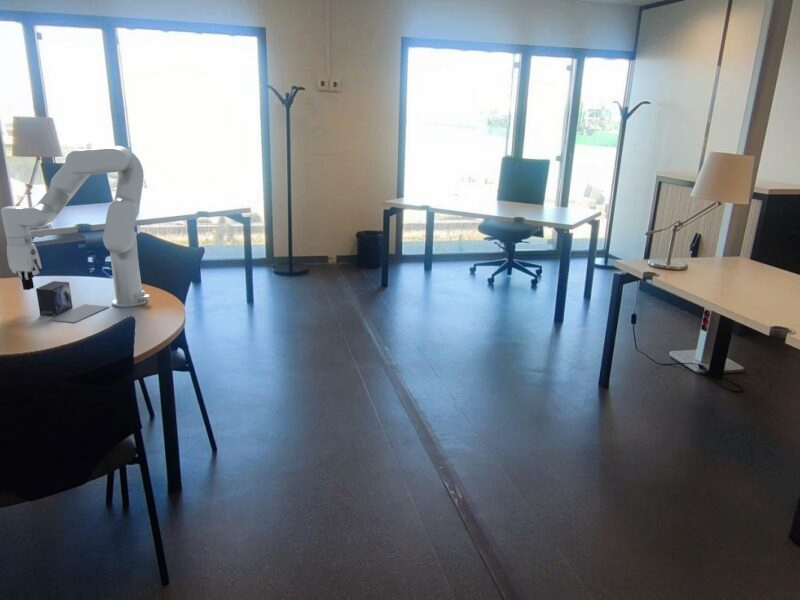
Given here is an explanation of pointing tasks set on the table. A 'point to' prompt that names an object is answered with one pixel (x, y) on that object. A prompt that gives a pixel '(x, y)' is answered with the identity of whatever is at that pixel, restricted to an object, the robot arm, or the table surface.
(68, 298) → the small box
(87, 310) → the mat
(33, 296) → the table surface
